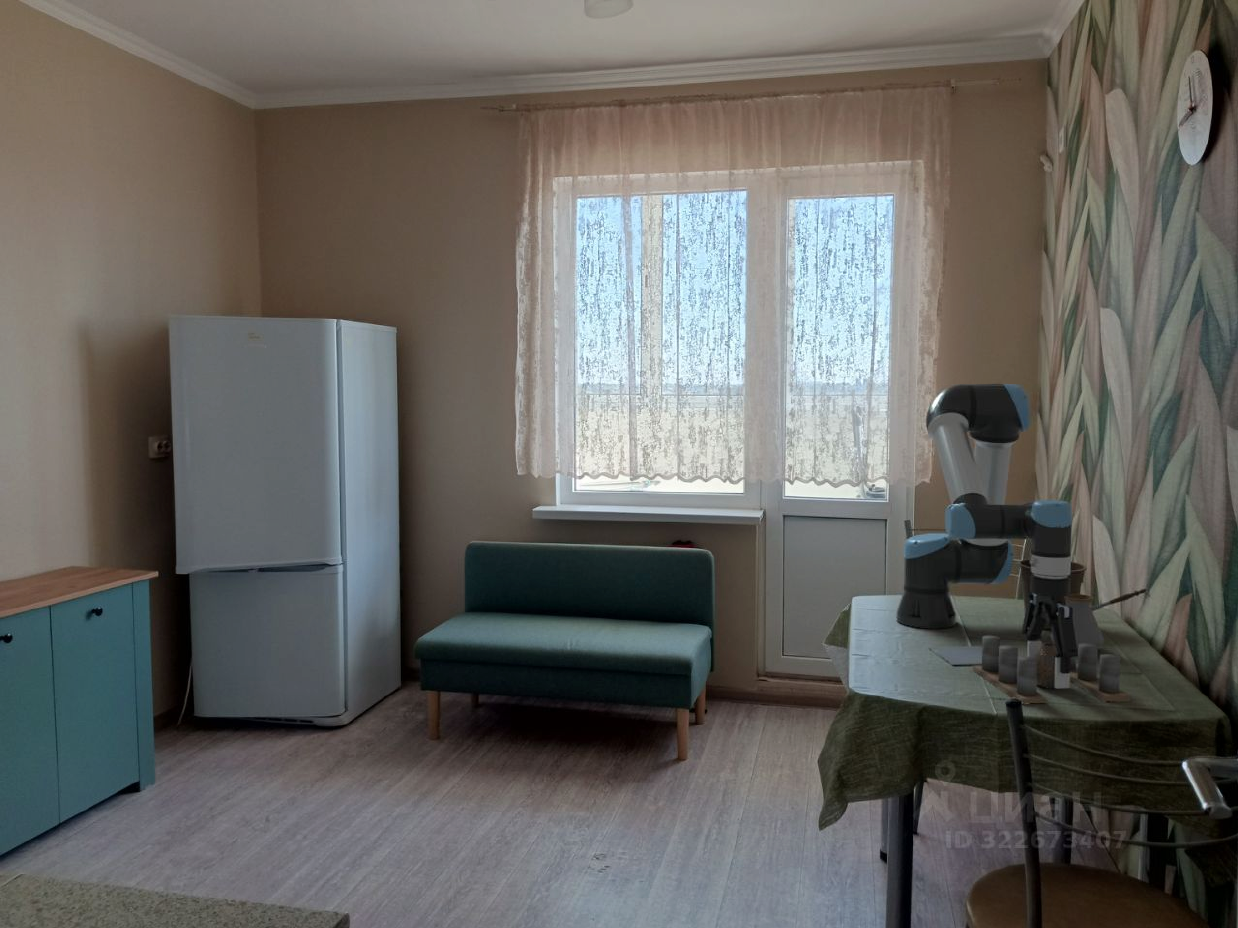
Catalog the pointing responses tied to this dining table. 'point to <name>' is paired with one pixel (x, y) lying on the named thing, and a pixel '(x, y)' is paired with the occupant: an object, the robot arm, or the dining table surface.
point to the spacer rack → (1022, 672)
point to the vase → (1046, 665)
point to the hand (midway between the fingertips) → (1047, 678)
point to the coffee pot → (1090, 617)
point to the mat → (961, 654)
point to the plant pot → (1075, 576)
